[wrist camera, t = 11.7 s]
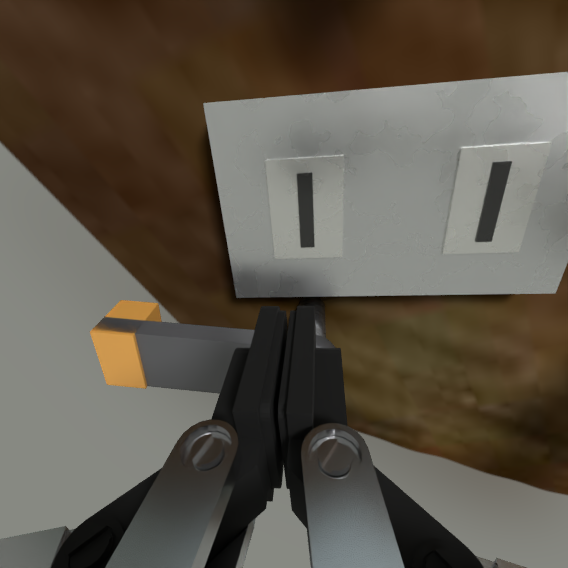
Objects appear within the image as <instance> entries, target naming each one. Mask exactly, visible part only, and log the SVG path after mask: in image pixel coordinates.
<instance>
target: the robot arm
mask: <svg viewBox="0 0 568 568" xmlns="http://www.w3.org/2000/svg"><path fill="white" fill-rule="evenodd" d="M283 465H284V470H285V477H286V486H287V489H290V498H291V506H292V511H293V512H294V513H295V515H296V516H297V517H298V518H299V520H300V521H301V522H302V523H303V524H304V526H305V527H306V528H307V535H308V545H309V553H310V564H311V568H526V567H523V566H520V565H516V564H514V563H511V562H508V561H505V560H501V559H498V558H496V560H495V562H492V561H489V560H486V559H483V558H480V557H477V556H475V555H474V554H473V553H472V552H471V551H470V550H469V549H468V548H467V547H466V546H465V545H464V544H463V543H462V542H461V541H459V540H458V539H457V538H456V537H455V536H454V535H453V534H451V533H450V532H449V531H448V530H447V529H445V528H444V527H443V526H442V525H441V524H440V523H439V522H438V521H437V520H435V519H434V518H433V517H432V516H430V514H429V513H427V512H426V511H425V510H424V509H423V508H422V507H420V506H419V505H418V504H417V503H416V502H415V501H414V500H412V499H411V498H410V497H409V496H408V495H406V493H404V492H403V491H402V490H401V489H400V488H399V487H398V486H396V485H395V484H394V483H393V482H392V481H391V480H390V479H388V478H387V477H386V476H385V475H384V474H382V472H380V471H379V470H378V469H377V468H376V467H375V466H374V465H373V463H372V459H371V456H370V452H369V450H368V447H367V445H366V443H365V441H364V439H363V438H362V437H361V436H360V435H359V434H358V432H356V431H355V430H353V429H352V428H350V427H348V426H347V417H346V405H345V393H344V382H343V370H342V359H341V349H340V348H316V325H315V306H297V311H291V312H290V319H289V327H288V329H287V317H286V311H280V308H279V306H262V307H261V309H260V313H259V316H258V320H257V324H256V327H255V331H254V335H253V338H252V342H251V346H250V348H236V349H235V351H234V353H233V356H232V359H231V362H230V365H229V368H228V371H227V374H226V377H225V380H224V383H223V386H222V389H221V392H220V395H219V398H218V401H217V404H216V407H215V410H214V413H213V416H212V419H211V420H206V421H202V422H199V423H197V424H195V425H193V426H191V427H190V428H189V429H188V430H187V431H185V432H184V433H183V434H182V436H181V437H180V438H179V440H178V441H177V443H176V445H175V446H174V448H173V450H172V452H171V453H170V455H169V457H168V459H167V460H166V462H165V464H164V466H163V467H162V468H161V469H160V470H159V471H157V472H156V473H154V474H153V475H151V476H150V477H148V478H147V479H145V480H144V481H142V482H141V483H139V484H138V485H137V486H135V487H134V488H132V489H131V490H129V491H128V492H126V493H125V494H123V495H122V496H120V497H119V498H117V499H116V500H115V501H113V502H112V503H110V504H109V505H107V506H106V507H104V508H103V509H101V510H100V511H98V512H97V513H96V514H94V515H93V516H91V517H90V518H88V519H87V520H85V521H84V522H83V523H82V524H81V525H79V526H78V527H77V528H76V529H72V530H69V529H68V528H67V527H66V526H64V527H59V528H54V529H49V530H44V531H39V532H34V533H29V534H24V535H19V536H14V537H9V538H4V539H0V568H243V564H244V561H245V558H246V554H247V550H248V547H249V543H250V540H251V536H252V533H253V529H254V524H255V518H256V517H257V516H258V515H259V514H260V513H261V512H263V511H264V510H265V509H266V504H267V501H273V492H274V488H281V485H282V475H283Z"/></svg>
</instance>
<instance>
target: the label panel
mask: <svg viewBox="0 0 568 568" xmlns="http://www.w3.org/2000/svg"><path fill="white" fill-rule="evenodd" d="M203 105H204V110H205V116H206V122H207V128H208V134H209V140H210V146H211V151H212V157H213V163H214V169H215V175H216V181H217V187H218V192H219V198H220V204H221V210H222V216H223V222H224V227H225V233H226V239H227V245H228V251H229V257H230V263H231V268H232V274H233V280H234V286H235V292H236V298H255V297H327V296H398V295H470V294H541V293H556V291H557V288H558V285H559V283H560V280H561V278H562V275H563V273H564V270H565V268H566V265H567V262H568V72H561V73H549V74H538V75H526V76H515V77H503V78H491V79H480V80H468V81H456V82H445V83H433V84H422V85H410V86H398V87H387V88H375V89H363V90H352V91H340V92H329V93H317V94H305V95H294V96H282V97H270V98H259V99H247V100H236V101H224V102H212V103H203Z"/></svg>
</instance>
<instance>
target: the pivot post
mask: <svg viewBox="0 0 568 568" xmlns="http://www.w3.org/2000/svg"><path fill="white" fill-rule="evenodd" d="M299 306H315V325H316V335H319V336H322V337H324V338H326V329H325V305H324V302H323V301H322V300H321V299H320V298H318V297H305V298H303V299H302V300H301V301H300V303H299Z"/></svg>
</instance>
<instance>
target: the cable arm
mask: <svg viewBox="0 0 568 568" xmlns="http://www.w3.org/2000/svg"><path fill="white" fill-rule="evenodd" d="M254 331H255V330H246V329H235V328H224V327H213V326H201V325H190V324H179V323H167V322H162V321H161V316H160V310H159V305H158V303H149V302H136V301H126V300H125V301H124V300H121V301H120V302H119V303H118V304H117V305H116V306H115V307H114V308H113V309H112V310H111V311H110V312H109V313H108V314H107V315H106V316H105V317H104V318H103V319H102V320H101V321H100V322H99V323H98V324H97V325H96V326H95V327H94V328H93V329H92V330H91V332H90V334H91V337H92V340H93V343H94V346H95V349H96V352H97V355H98V358H99V361H100V364H101V368H102V371H103V374H104V376H105V380H106V383H107V385H115V386H125V387H136V388H145V389H146V387H147V386H152V387H161V388H171V389H181V390H191V391H201V392H211V393H220V392H221V389H222V386H223V383H224V380H225V377H226V374H227V371H228V368H229V365H230V362H231V359H232V356H233V353H234V351H235V349H236V348H250V346H251V342H252V338H253V335H254ZM316 348H335V347H334V345H333V344H332V343H331V342H330V341H329V340H327V339H326V338H324V337H322V336H319V335H316Z"/></svg>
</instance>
